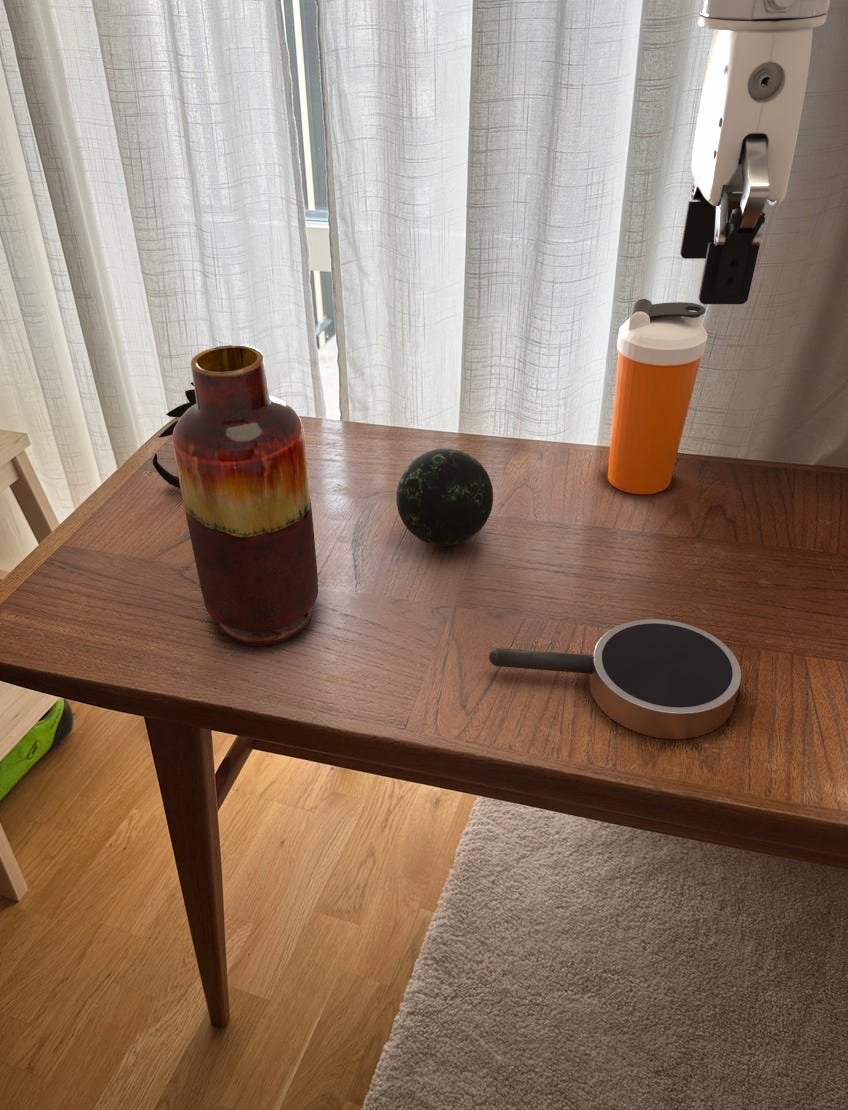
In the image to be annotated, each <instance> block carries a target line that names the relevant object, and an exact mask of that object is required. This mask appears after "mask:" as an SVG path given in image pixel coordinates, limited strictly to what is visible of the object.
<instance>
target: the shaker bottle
mask: <svg viewBox="0 0 848 1110" xmlns="http://www.w3.org/2000/svg"><path fill="white" fill-rule="evenodd" d="M705 313H706V307H704V306H703V305H700V304H698V303H695V302H688V301H687V302H684V301H683V302H682V301H678V302H676V301H674V302H671V301H670V302H661V303H659V302H658V303H652V301H651V300H650V299H648V298H639V299H637V300H636V301H635V302H634V304H633V305H632V309H631V312H630V317H629V318H628V319H627V320H626V321H625V322H624V323H623V324H622V325H621V326H620V327H619V330H618V336H617V343H616V350H617V365H616V376H615V385H614V386H615V387H614V399H613V410H612V421H611V431H610V432H611V434H610V444H609V446H610V447H609V456H608V467H607V480H608V482H609V483H610V484H611V486H613V487H614V488H616V489H617V490H620V491H622V492H624V493H628V494H632V495H652V494H653V495H654V494H657V493H660V492H662V491H663V492H664V490H666V489H667V488H668V487H669V486H670V484H671V481H672V478H673V472H674V469H675V465H676V461H677V457H678V453H679V449H680V445H681V440H682V437H683V434H684V433H683V432H684V428H685V424H686V420H687V416H688V412H689V408H690V404H691V400H692V395H693V392H694V387H695V384H696V380H697V376H698V371H699V368H700V364H701V360H702V358H703V357H704V356H705V353H706V346H707V342H708V338H709V337H708V332H707V331H706V329H705V326H704V325H703V324H702V322H700V318H701V316H702V315H704V314H705Z"/></svg>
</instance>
